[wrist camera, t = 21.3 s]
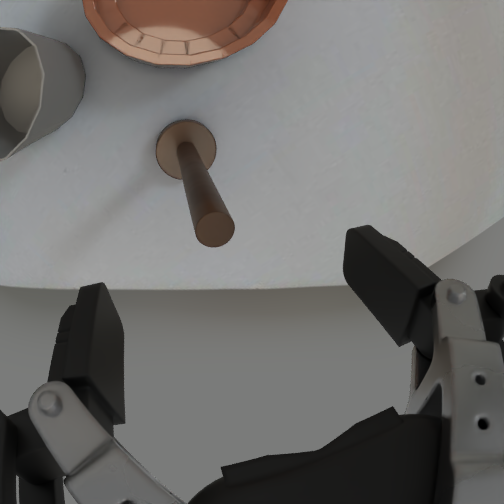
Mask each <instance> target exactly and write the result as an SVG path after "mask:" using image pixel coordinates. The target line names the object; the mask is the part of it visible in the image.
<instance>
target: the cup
mask: <svg viewBox="0 0 504 504" xmlns="http://www.w3.org/2000/svg"><path fill="white" fill-rule="evenodd" d="M85 77H86V74H85V71H84V68H83V65H82V62H81V59H80V56H79V55H78V54H77V53H76V52H75V51H74V50H72V49H71V48H70V47H69V46H68V45H67V44H65V43H62V42H59V41H56V40H53V39H50V38H47V37H44V36H41V35H38V34H34V33H31V32H28V31H24V30H21V29H16V28H4V27H0V161H2V160H5V159H7V158H9V157H10V156H12V155H14V154H15V153H17V152H18V151H20V150H22V149H23V148H25V147H27V146H28V145H30V144H32V143H33V142H35V141H37V140H39V139H40V138H42V137H44V136H46V135H48V134H49V133H51V132H53V131H55V130H56V129H58V128H59V127H60V126H61V125H62V124H64V123H65V122H66V121H67V120H68V119H70V118H71V117H72V116H73V114H74V112H75V110H76V108H77V106H78V105H79V103H80V101H81V99H82V98H83V92H84V84H85Z"/></svg>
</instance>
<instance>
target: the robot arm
mask: <svg viewBox="0 0 504 504" xmlns="http://www.w3.org/2000/svg"><path fill="white" fill-rule="evenodd" d="M343 273H344V277H345V280H346V282H347V283H348V285H349V286H350V287H351V288H352V290H353V291H354V292H355V293H356V294H357V296H358V297H359V298H360V299H361V300H362V302H363V303H364V304H365V305H366V306H367V307H368V309H369V310H370V311H371V313H372V314H373V315H374V316H375V317H376V319H377V320H378V321H379V322H380V324H381V325H382V326H383V327H384V329H385V330H386V331H387V332H388V334H389V335H390V336H391V337H392V339H393V340H394V341H395V342H396V344H397V345H398V346H399V347H400V346H402V345H404V344H407V343H409V342H411V341H412V342H413V344H414V347H413V350H412V365H411V384H410V396H409V402H408V405H407V408H406V411H405V414H404V415H398V413H397V412H396V410H395V409H394V407H393V406H392V407H390V408H388V409H386V410H384V411H382V412H380V413H378V414H376V415H374V416H371V417H370V418H367V419H365V420H363V421H360V422H358V423H356V424H355V425H354V426H352V427H351V428H349V429H348V430H347V431H345V432H344V433H343V434H341V435H340V436H339V437H337V438H336V439H334V440H333V441H331V442H330V443H329V444H327V445H326V446H324V447H323V448H321V449H319V450H316V451H310V452H301V453H291V454H280V455H266V456H263V457H259V458H256V459H252V460H248V461H244V462H240V463H236V464H232V465H228V466H223V467H221V470H222V474H223V477H222V478H220V479H218V480H215V481H214V482H212V483H211V484H209V485H207V486H206V487H205V488H204V489H202V490H201V491H200V492H198V493H197V494H196V495H195V496H194V497H193V498H192V499H191V500H190V501H189V503H188V504H504V341H503V340H502V339H503V337H504V275H496V276H494V277H493V278H492V279H491V281H490V284H489V286H488V289H485V290H476V291H473V289H472V288H471V287H470V286H468V285H467V284H465V283H464V282H462V281H459V280H455V279H444V280H441V279H440V278H439V277H438V276H436V275H435V274H434V273H433V272H432V271H431V270H430V269H429V268H427V267H426V266H425V265H424V264H423V263H422V262H421V261H419V260H418V259H417V258H415V257H414V255H412V254H411V253H410V252H409V251H408V252H407V250H406V249H405V248H404V247H403V246H402V245H400V244H399V243H398V242H397V241H395V240H392V239H390V238H388V237H386V236H383V235H382V234H380V233H379V232H378V231H377V230H376V229H374V228H373V227H372V226H370V225H365V226H360V227H356V228H351V229H349V230H348V231H347V233H346V240H345V251H344V262H343ZM58 332H59V333H58V334H57V337H56V344H55V346H54V351H53V356H52V360H51V366H50V371H49V377H48V382H47V383H45V384H43V385H42V386H40V387H39V388H38V389H37V390H36V391H35V392H34V393H33V395H32V397H31V399H30V402H29V406H28V408H27V409H24V410H22V411H20V412H17V413H15V414H12V415H10V416H6V415H5V414H4V413H3V412H2V411H1V410H0V504H17V503H16V475H17V476H18V477H19V502H20V504H65V500H64V490H63V478H62V477H63V476H66V478H65V479H64V484H65V486H66V488H67V489H68V491H69V492H70V494H71V495H72V496H73V498H74V499H75V500H76V502H77V503H78V504H186V503H185V502H184V501H183V500H181V499H180V498H179V497H178V496H177V495H175V494H174V493H173V492H172V491H170V490H169V489H168V488H167V487H166V486H164V485H163V484H162V483H161V482H160V481H159V480H157V479H156V478H155V477H154V476H153V475H152V474H151V473H150V472H149V471H148V470H146V469H145V468H144V467H143V466H142V465H141V464H140V463H139V462H138V461H137V460H136V459H135V458H134V457H133V456H132V455H131V454H130V453H129V452H128V451H127V450H126V449H125V448H124V447H123V446H122V445H121V444H120V443H119V442H118V441H117V440H116V439H115V437H114V434H113V432H114V431H113V425H118V424H125V404H124V331H123V326H122V323H121V320H120V317H119V315H118V313H117V310H116V308H115V306H114V304H113V302H112V299H111V297H110V294H109V292H108V290H107V287H106V285H105V284H104V283H103V282H101V283H97V284H92V285H88V286H83V287H81V288H80V290H79V294H78V298H77V302H76V305H71V306H69V308H68V309H67V311H66V312H65V313H64V315H63V316H62V318H61V321H60V325H59V329H58Z"/></svg>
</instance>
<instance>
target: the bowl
mask: <svg viewBox="0 0 504 504" xmlns="http://www.w3.org/2000/svg"><path fill="white" fill-rule="evenodd" d="M82 1H83V7H84V12H85V16H86V18H87V19H88V21H89V22H90V24H91V25H92V27H93V28H94V30H95V31H96V33H97V34H98V36H99V37H100V38H101V39H102V40H104V41H105V42H106V43H108V44H109V45H111V46H112V47H114V48H115V49H117V50H118V51H119V52H121V53H122V54H124V55H125V56H127V57H128V58H129V59H131V60H134V61H138V62H141V63H144V64H147V65H151V66H154V67H158V68H190V67H194V66H198V65H203V64H207V63H212V62H215V61H218V60H221V59H223V58H226V57H228V56H230V55H232V54H234V53H236V52H238V51H240V50H242V49H244V48H246V47H248V46H250V45H252V44H253V43H255V42H256V41H257V40H258V39H259V38H260V37H261V36H262V35H263V34H264V33H265V32H266V31H268V30H269V29H270V28H271V27H272V26H273V25H274V24H275V23H276V21H277V19H278V17H279V15H280V14H281V12H282V10H283V8H284V7H285V5H286V3H287V1H288V0H82Z"/></svg>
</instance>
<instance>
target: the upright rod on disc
mask: <svg viewBox="0 0 504 504" xmlns="http://www.w3.org/2000/svg"><path fill="white" fill-rule="evenodd" d="M215 156H216V142H215V139H214V137H213V135H212V133H211V132H210V131H209V130H208V129H207V128H206V127H205V126H204V125H203V124H201V123H199V122H197V121H194V120H188V119H185V120H179V121H176V122H173V123H171V124H170V125H168V126H167V127H166V128H165V129H164V130H163V131H162V132H161V134H160V135H159V138H158V140H157V144H156V158H157V161H158V164H159V166H160V167H161V169H162V170H163V171H164V172H165V173H166V174H168V175H169V176H171V177H173V178H176V179H181V180H183V184H184V188H185V193H186V197H187V201H188V205H189V210H190V214H191V218H192V222H193V226H194V230H195V234H196V237H197V239H198V241H199V242H200V243H202V244H203V245H205V246H208V247H219V246H222V245H224V244H226V243H227V242H228V241H229V240H230V239H231V238H232V236H233V234H234V230H235V225H234V222H233V220H232V218H231V216H230V214H229V212H228V210H227V208H226V206H225V204H224V202H223V200H222V198H221V196H220V194H219V192H218V190H217V188H216V187H215V185H214V183H213V181H212V179H211V177H210V175H209V173H208V171H207V170H208V169H209V168H210V167H211V165H212V163H213V161H214V159H215Z"/></svg>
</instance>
